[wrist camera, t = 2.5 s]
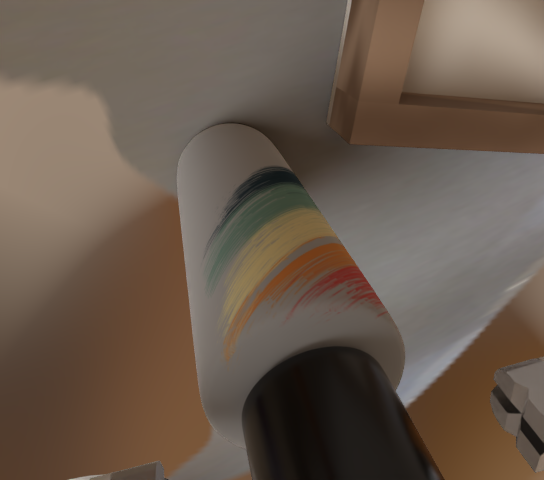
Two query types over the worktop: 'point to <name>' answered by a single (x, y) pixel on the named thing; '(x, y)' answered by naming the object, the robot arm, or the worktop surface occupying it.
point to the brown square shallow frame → (441, 75)
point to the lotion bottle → (287, 323)
